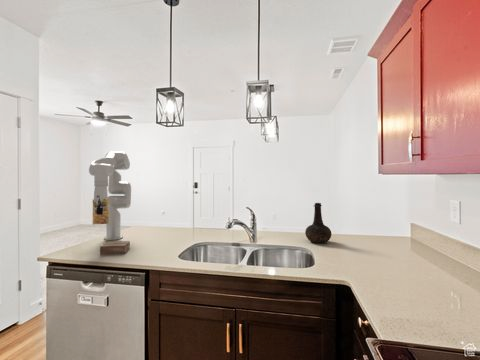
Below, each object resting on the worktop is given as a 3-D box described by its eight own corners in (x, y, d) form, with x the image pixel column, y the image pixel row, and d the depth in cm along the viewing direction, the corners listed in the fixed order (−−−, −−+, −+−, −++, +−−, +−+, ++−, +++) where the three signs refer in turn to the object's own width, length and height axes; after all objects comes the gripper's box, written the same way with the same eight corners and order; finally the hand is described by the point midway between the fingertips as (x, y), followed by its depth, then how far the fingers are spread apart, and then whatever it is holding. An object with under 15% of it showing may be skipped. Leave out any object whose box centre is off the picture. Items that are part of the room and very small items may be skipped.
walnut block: (106, 249, 176) (106, 241, 176) (129, 248, 178) (129, 241, 178) (99, 254, 164) (99, 246, 164) (125, 254, 166) (125, 245, 166)
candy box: (92, 224, 168) (92, 199, 168) (94, 223, 172) (94, 198, 172) (108, 224, 170) (108, 199, 170) (109, 223, 174) (109, 198, 174)
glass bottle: (335, 242, 200) (335, 203, 200) (324, 246, 187) (324, 204, 187) (312, 238, 212) (312, 201, 212) (300, 242, 199) (301, 203, 199)
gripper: (100, 183, 179) (100, 212, 179) (89, 184, 162) (89, 215, 162) (112, 183, 180) (112, 212, 180) (102, 184, 163) (102, 215, 163)
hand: (101, 213), depth 171 cm, fingers closed on candy box, 4 cm apart
